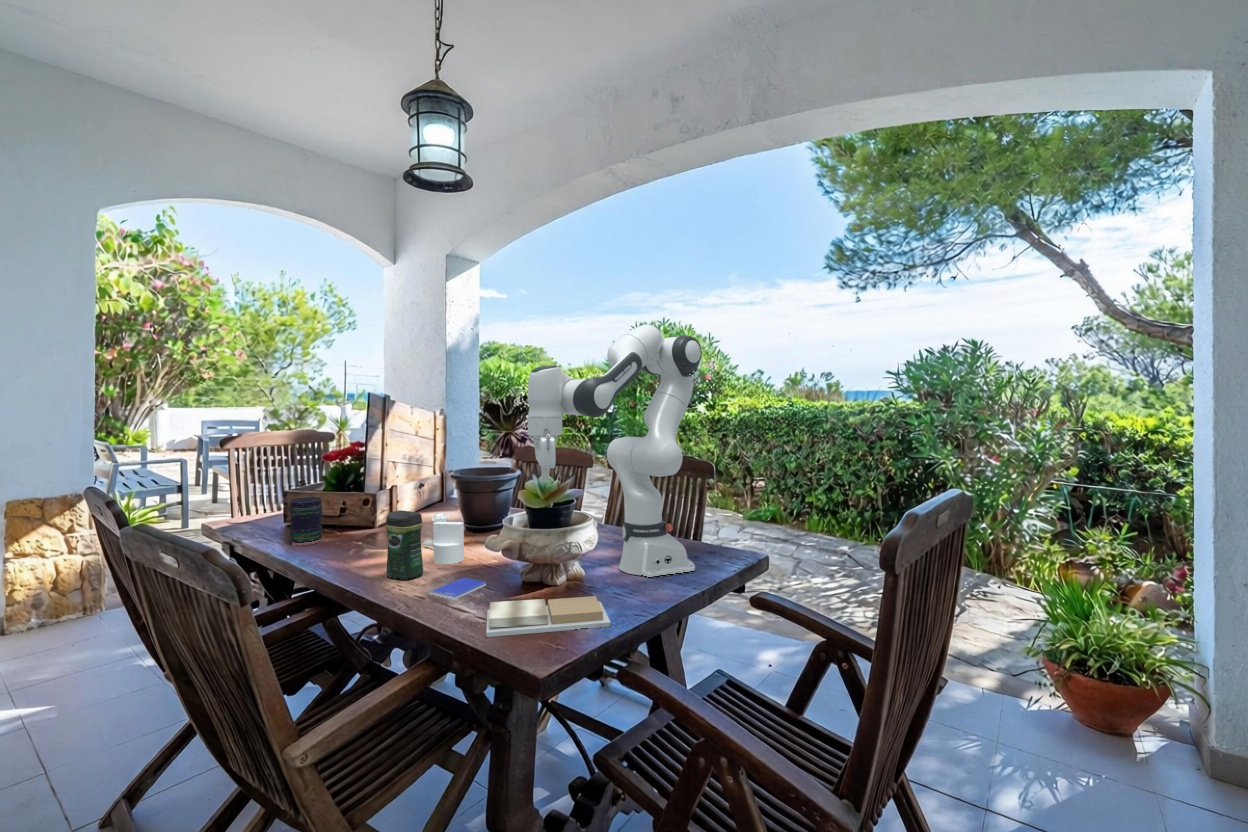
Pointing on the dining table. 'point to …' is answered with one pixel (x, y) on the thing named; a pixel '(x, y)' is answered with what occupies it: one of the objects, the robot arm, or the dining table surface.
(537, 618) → the birch plank
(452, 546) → the base with upright slab
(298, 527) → the storage jar
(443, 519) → the sitting furry creature
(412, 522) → the coffee jar
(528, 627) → the floor base
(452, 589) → the hard drive
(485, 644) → the dining table surface
